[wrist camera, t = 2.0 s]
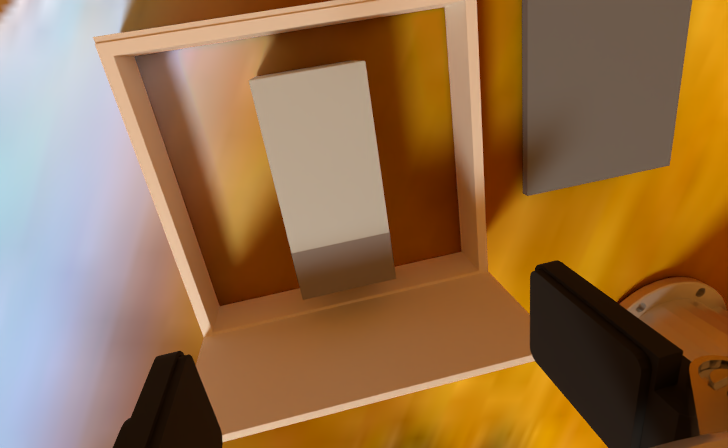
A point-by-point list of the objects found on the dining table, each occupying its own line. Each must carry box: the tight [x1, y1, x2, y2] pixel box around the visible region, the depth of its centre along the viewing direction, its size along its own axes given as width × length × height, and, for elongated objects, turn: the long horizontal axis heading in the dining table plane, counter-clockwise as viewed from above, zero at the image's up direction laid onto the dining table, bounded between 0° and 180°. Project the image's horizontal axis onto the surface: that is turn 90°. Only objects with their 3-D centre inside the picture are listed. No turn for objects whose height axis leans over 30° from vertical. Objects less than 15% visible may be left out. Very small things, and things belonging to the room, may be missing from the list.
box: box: [249, 61, 396, 300], centre depth 24 cm, size 6×12×5 cm, turn 9°
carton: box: [93, 0, 535, 442], centre depth 21 cm, size 19×18×11 cm
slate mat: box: [522, 0, 692, 196], centre depth 27 cm, size 11×17×1 cm, turn 9°
